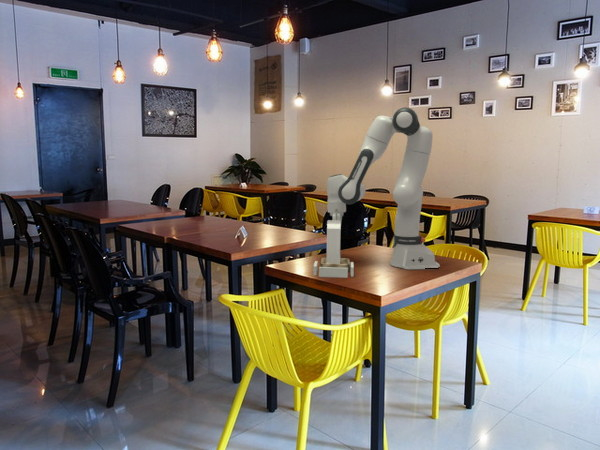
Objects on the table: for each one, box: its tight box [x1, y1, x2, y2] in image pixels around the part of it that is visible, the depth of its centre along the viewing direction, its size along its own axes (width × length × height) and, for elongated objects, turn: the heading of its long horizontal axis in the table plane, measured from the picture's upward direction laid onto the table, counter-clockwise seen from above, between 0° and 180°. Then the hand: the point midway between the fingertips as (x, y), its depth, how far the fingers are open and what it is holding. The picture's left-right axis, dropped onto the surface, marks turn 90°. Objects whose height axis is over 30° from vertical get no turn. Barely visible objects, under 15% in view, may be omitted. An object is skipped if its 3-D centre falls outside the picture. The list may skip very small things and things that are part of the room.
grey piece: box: [312, 260, 355, 279], centre depth 211 cm, size 17×12×4 cm
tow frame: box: [320, 251, 351, 272], centre depth 229 cm, size 13×25×4 cm, turn 176°
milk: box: [326, 219, 342, 264], centre depth 219 cm, size 6×6×22 cm
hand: (337, 236), depth 236 cm, fingers closed
